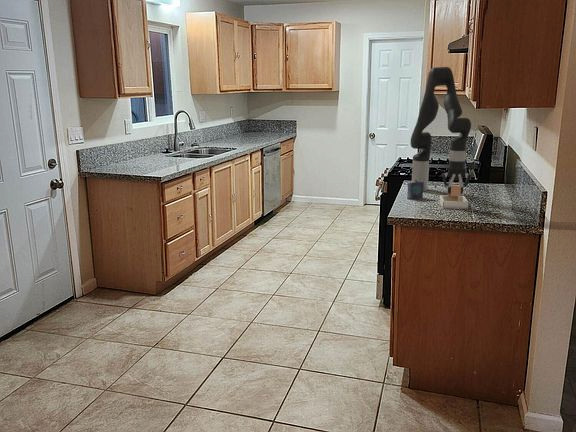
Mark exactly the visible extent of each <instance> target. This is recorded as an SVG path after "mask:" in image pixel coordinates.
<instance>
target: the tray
mask: <svg viewBox="0 0 576 432" xmlns="http://www.w3.org/2000/svg"><path fill="white" fill-rule="evenodd" d="M447 197H448V194H446V195H443V194H442V195H439V204H440V206H441V208H442V209H451V210H453V209H454V210H468V209H469V201H468V199H467V198H466V197H465V195H460V196H458V201H447Z"/></svg>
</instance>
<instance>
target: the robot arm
mask: <svg viewBox="0 0 576 432" xmlns="http://www.w3.org/2000/svg"><path fill="white" fill-rule="evenodd" d="M426 80H427V81H426V85H425V91H424V95H423V99H422V101H421V104H420V105H421V106H420V109H419V112H418V116H417V120H416V124H415V126H414V129H413V131H412V134H411V137H410V147H411V148H412V149H417V150H421V149H422V150H421V151H420V152H418V153H416V154H414V155H413V156H412V170H411V171H412V172H411V182H414V179H415V178H416V179H417V181H422V182H424V183H423V192H426V191H428V188H429V172H430V171H429V170H430V157H431V147H432V135H431V133H430V132H428V131H424V130H425V129H426V128H428V127H429V125H430V124H432V123H433V121H434V120H435V119H436V118H437V115H438V112H439V107H440V105H439V102H438V100H437V98H436V95H435V89H436V87H441V86H442V87H444V86H445V87H446V90H447V91H446V94H445V96H444V100H443V107H444V109H445V112H446V116H447V129H448V131H449V133H453V134H458V136H457V137H454V138H451V141H450V148H449V150H450V151H449V154H448V155H449V156H448V158H449V159H448V171H447V172H444V173H441V177H442V181H443V185H444V186H446V187H447V194H448V193H449V194H451V185H453V182H454V181H458V182H459V185H460V186H461V195H462V194H463V193H464V187H467V186H468V184H469V182H470V180H471V177H472V175H471V173H466V159H467V153H466V151H467V141H468V137H469V134H470V132H471V129H472V122H471V120H470V118H468V117H461V116H462V115H463V109H462V106H461V104H460V101H459V98H458V94H457V90H456V84H455V79H454V74H453V71H452V68H451V67H450V66H449V67H448V66H441V67H439V66H437V67H432V68H431V69H430V70H429V72H428V75H427V79H426ZM447 177H449V179H448V180H449V181H448V182H447ZM464 177H465V181H464V182H463V178H464Z"/></svg>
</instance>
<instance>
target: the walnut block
mask: <svg viewBox="0 0 576 432" xmlns="http://www.w3.org/2000/svg"><path fill="white" fill-rule="evenodd" d="M447 196H448V197H447V201H458V196H451V195H450V194H449V193H448V192H447Z"/></svg>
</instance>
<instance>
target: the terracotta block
mask: <svg viewBox="0 0 576 432" xmlns="http://www.w3.org/2000/svg"><path fill="white" fill-rule="evenodd" d="M450 195H451V196H462V194H461V186H460V184H454V185H453V184H451V194H450Z"/></svg>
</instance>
